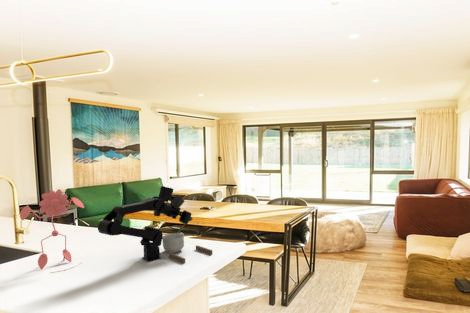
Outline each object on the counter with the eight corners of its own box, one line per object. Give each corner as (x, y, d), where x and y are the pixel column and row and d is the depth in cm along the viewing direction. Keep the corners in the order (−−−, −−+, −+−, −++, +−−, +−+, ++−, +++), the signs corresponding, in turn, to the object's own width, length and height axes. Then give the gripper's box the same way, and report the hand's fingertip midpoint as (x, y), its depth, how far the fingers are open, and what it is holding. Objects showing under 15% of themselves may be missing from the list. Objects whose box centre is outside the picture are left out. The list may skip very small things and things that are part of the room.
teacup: (172, 256, 166) (172, 239, 166) (158, 252, 173) (157, 236, 172) (193, 248, 177) (192, 233, 177) (178, 245, 184) (177, 230, 184)
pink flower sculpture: (20, 269, 152) (17, 191, 150) (81, 256, 170) (78, 185, 168) (28, 280, 141) (24, 195, 139) (92, 264, 158) (90, 188, 156)
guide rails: (183, 263, 155) (183, 259, 155) (168, 257, 164) (168, 253, 164) (212, 254, 167) (212, 250, 167) (197, 249, 176) (197, 245, 176)
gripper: (185, 199, 167) (204, 207, 179) (161, 189, 178) (181, 197, 190) (175, 221, 165) (196, 228, 177) (152, 209, 176) (172, 216, 188)
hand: (186, 216), depth 183 cm, fingers open, 9 cm apart
